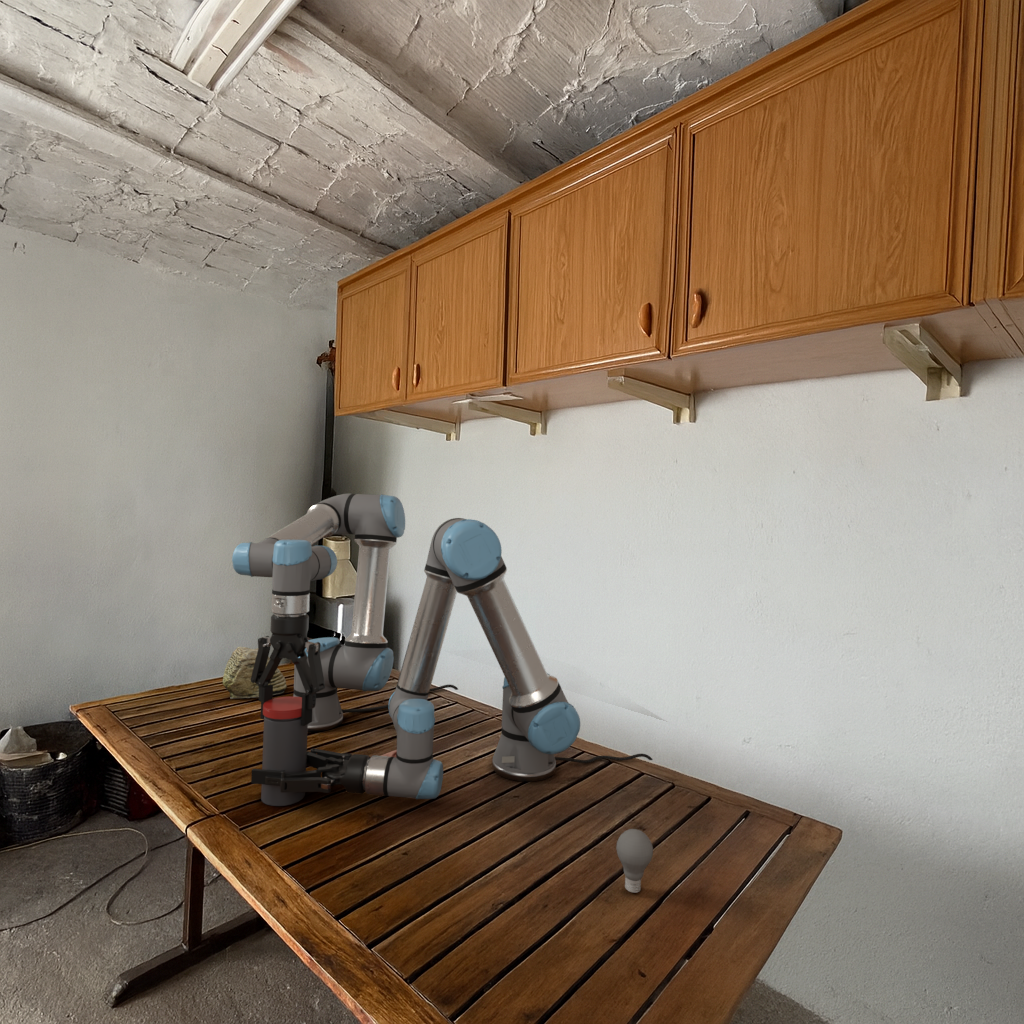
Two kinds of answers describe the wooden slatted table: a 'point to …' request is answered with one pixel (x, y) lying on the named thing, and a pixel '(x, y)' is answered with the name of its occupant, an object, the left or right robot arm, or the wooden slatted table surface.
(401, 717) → the right robot arm
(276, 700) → the lid
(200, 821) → the wooden slatted table surface
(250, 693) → the fossil
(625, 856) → the light bulb
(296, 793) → the jar
